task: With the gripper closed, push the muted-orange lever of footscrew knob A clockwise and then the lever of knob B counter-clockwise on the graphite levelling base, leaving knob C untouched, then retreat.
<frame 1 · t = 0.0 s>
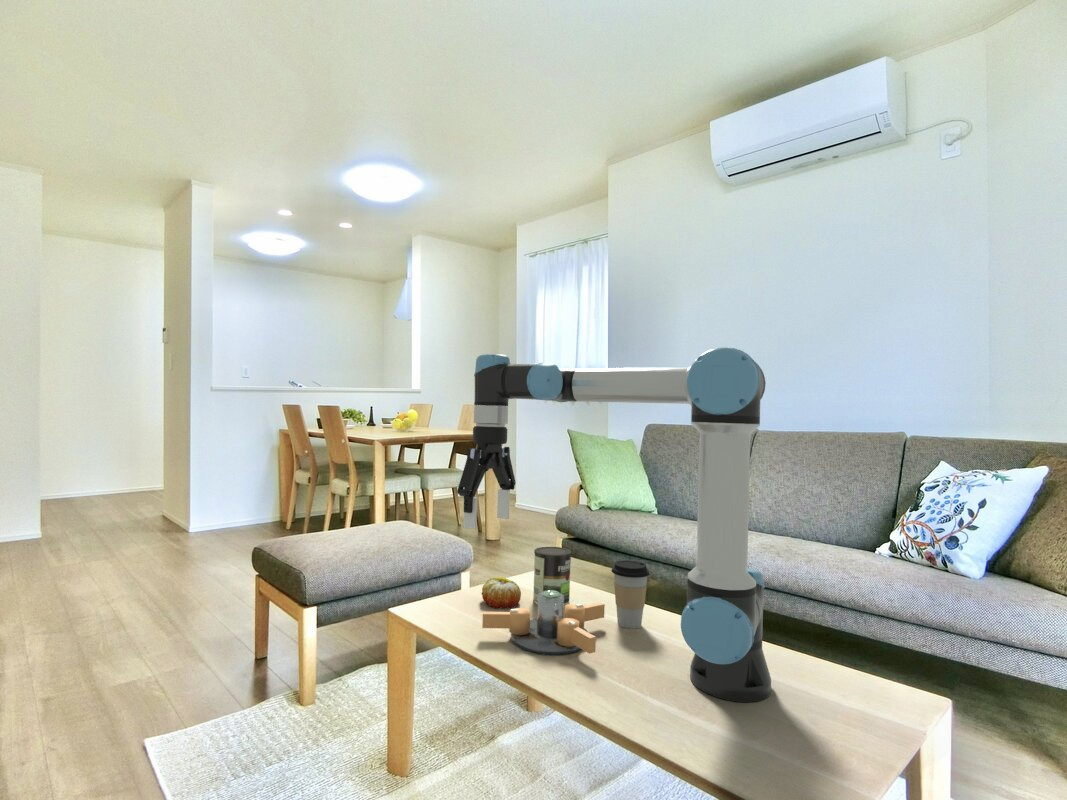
hand: (487, 523, 123), 28 cm above the table, fingers open, 13 cm apart
coffee cup: (628, 625, 142), on the table
fruit: (500, 604, 154), on the table
knob c: (584, 613, 136), point 4 cm above the table, hinge at 0.0°
coffee can: (551, 602, 157), on the table
levelling base: (549, 639, 131), on the table
knob a: (506, 620, 130), point 4 cm above the table, hinge at 0.0°
knob b: (576, 635, 122), point 4 cm above the table, hinge at 0.0°
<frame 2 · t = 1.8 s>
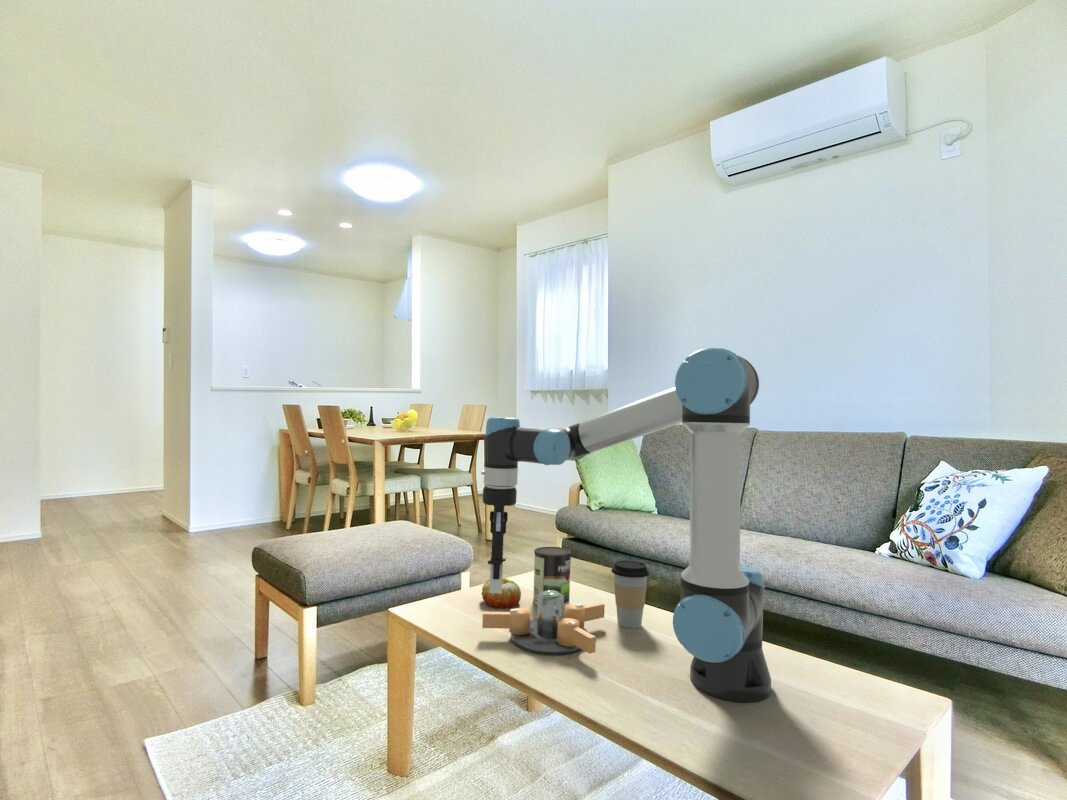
hand: (495, 592, 126), 12 cm above the table, fingers closed
nothing on the table moved.
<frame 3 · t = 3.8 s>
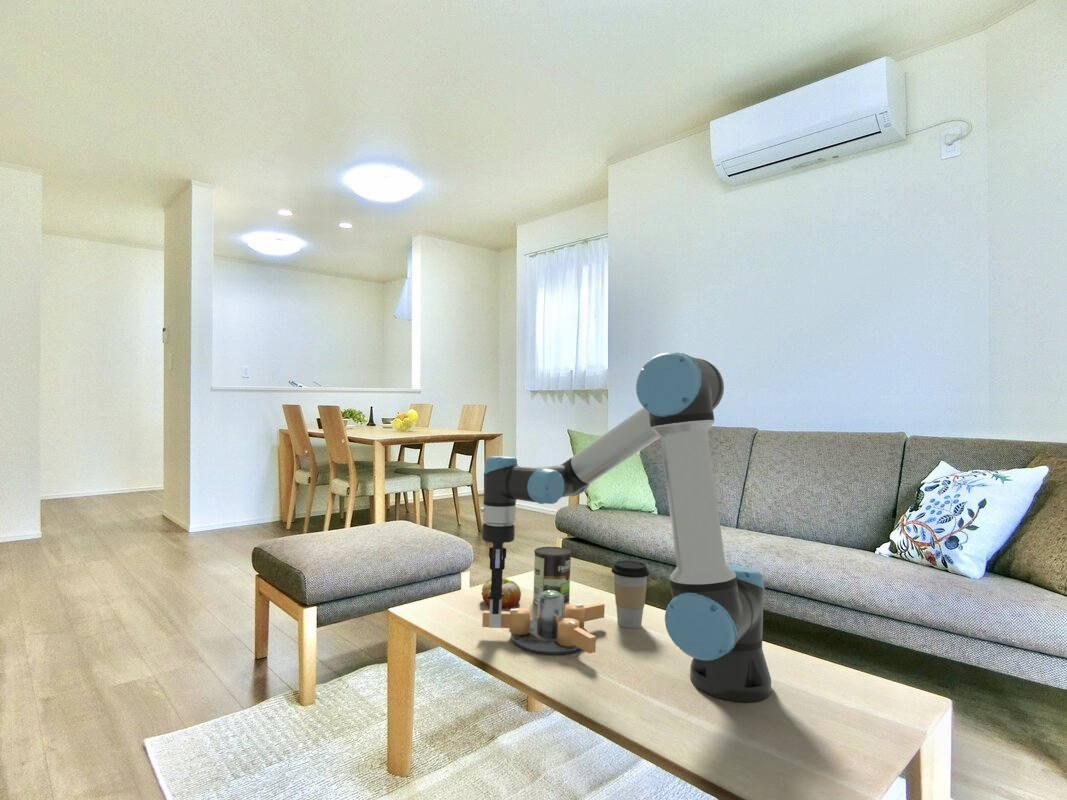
hand: (494, 626, 129), 3 cm above the table, fingers closed
knob a: (506, 619, 131), point 4 cm above the table, hinge at -5.1°, touching gripper
everything else where it was.
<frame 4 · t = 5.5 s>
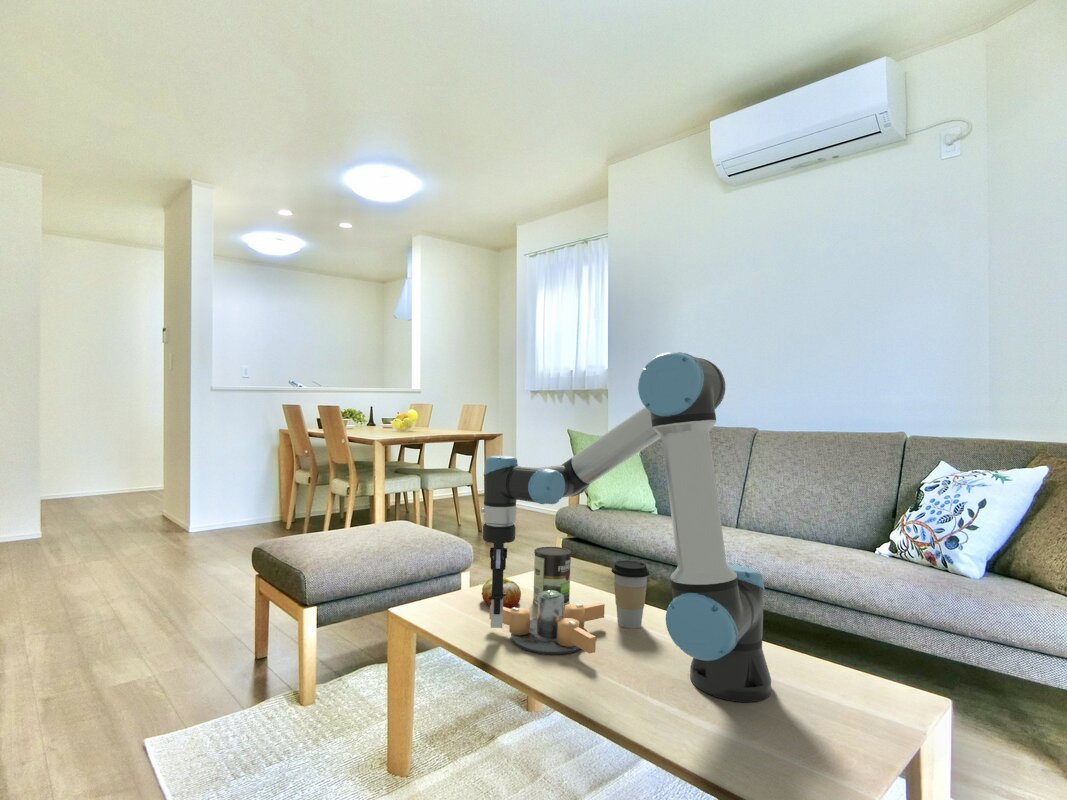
hand: (496, 626, 129), 3 cm above the table, fingers closed
knob a: (509, 617, 132), point 4 cm above the table, hinge at -40.0°
everything else where it was.
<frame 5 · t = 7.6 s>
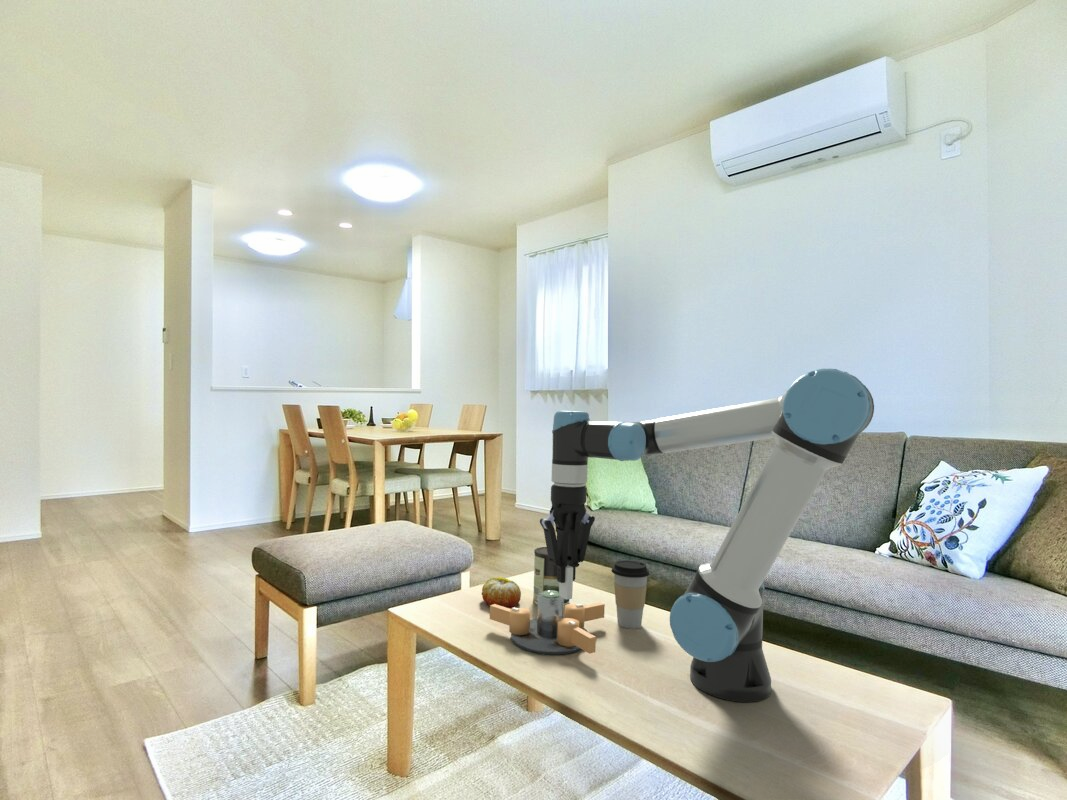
hand: (565, 597, 118), 14 cm above the table, fingers closed
nothing on the table moved.
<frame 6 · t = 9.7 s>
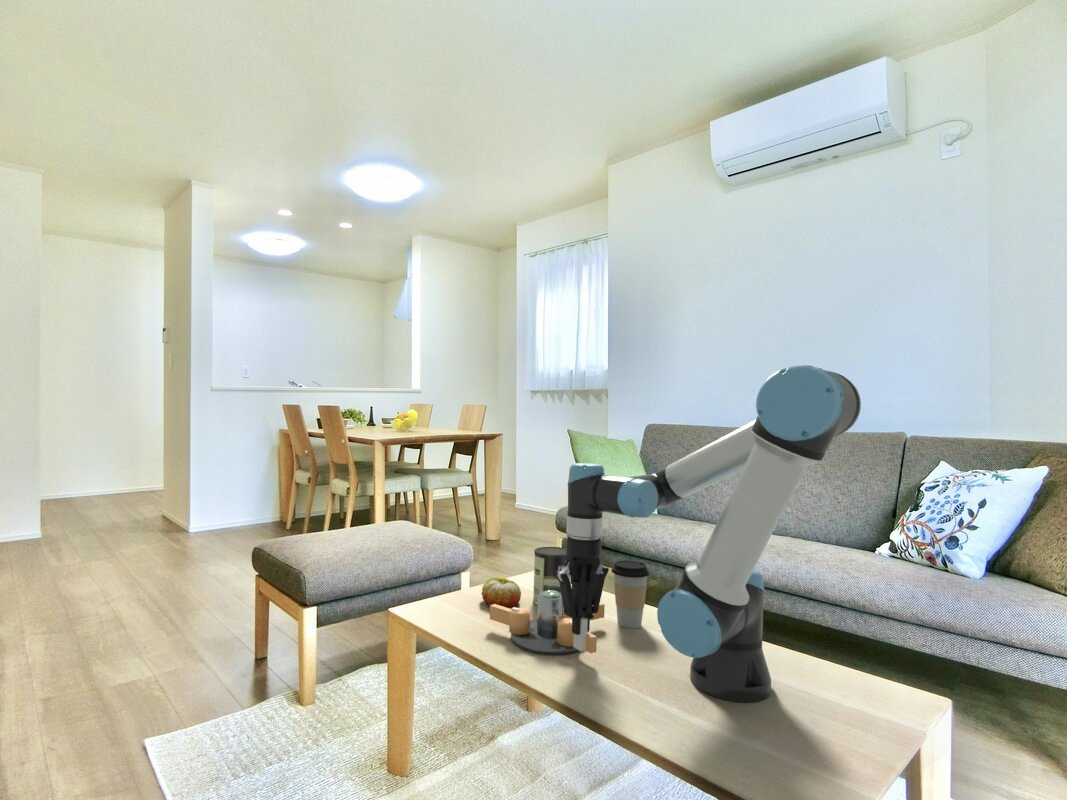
hand: (579, 648, 119), 3 cm above the table, fingers closed
knob b: (577, 635, 122), point 4 cm above the table, hinge at 1.8°, touching gripper
everything else where it was.
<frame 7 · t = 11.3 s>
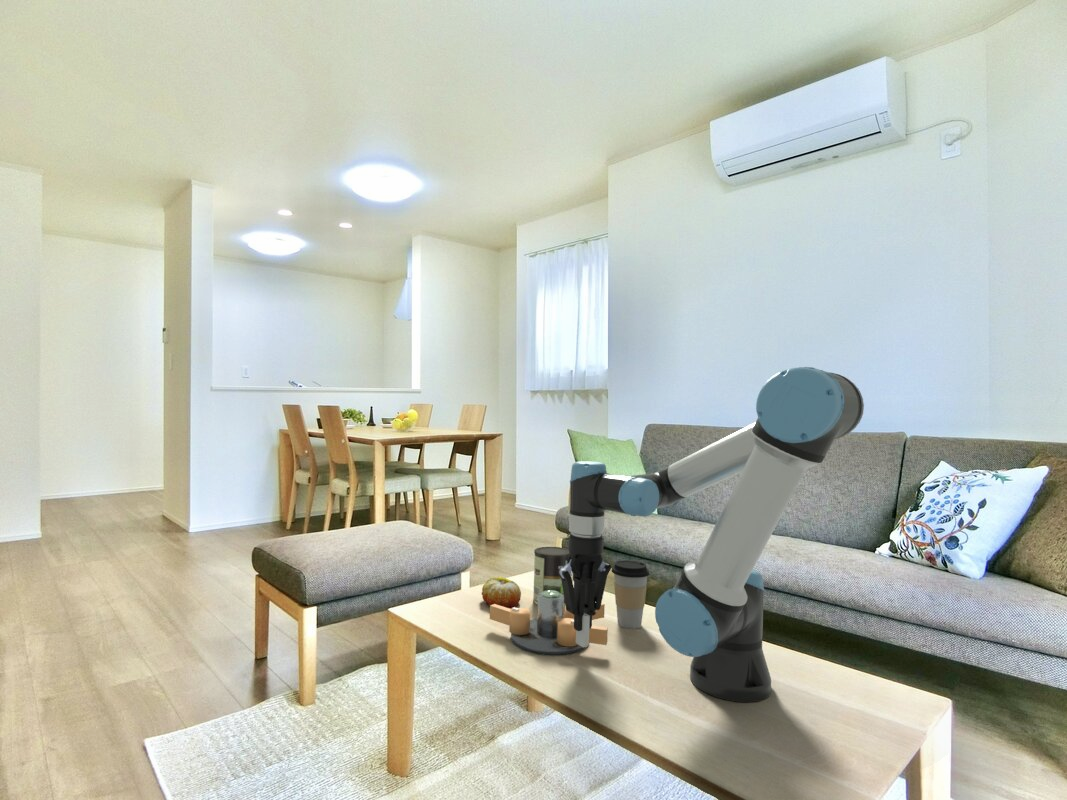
hand: (582, 644, 121), 3 cm above the table, fingers closed
knob b: (582, 632, 124), point 4 cm above the table, hinge at 41.7°
everything else where it was.
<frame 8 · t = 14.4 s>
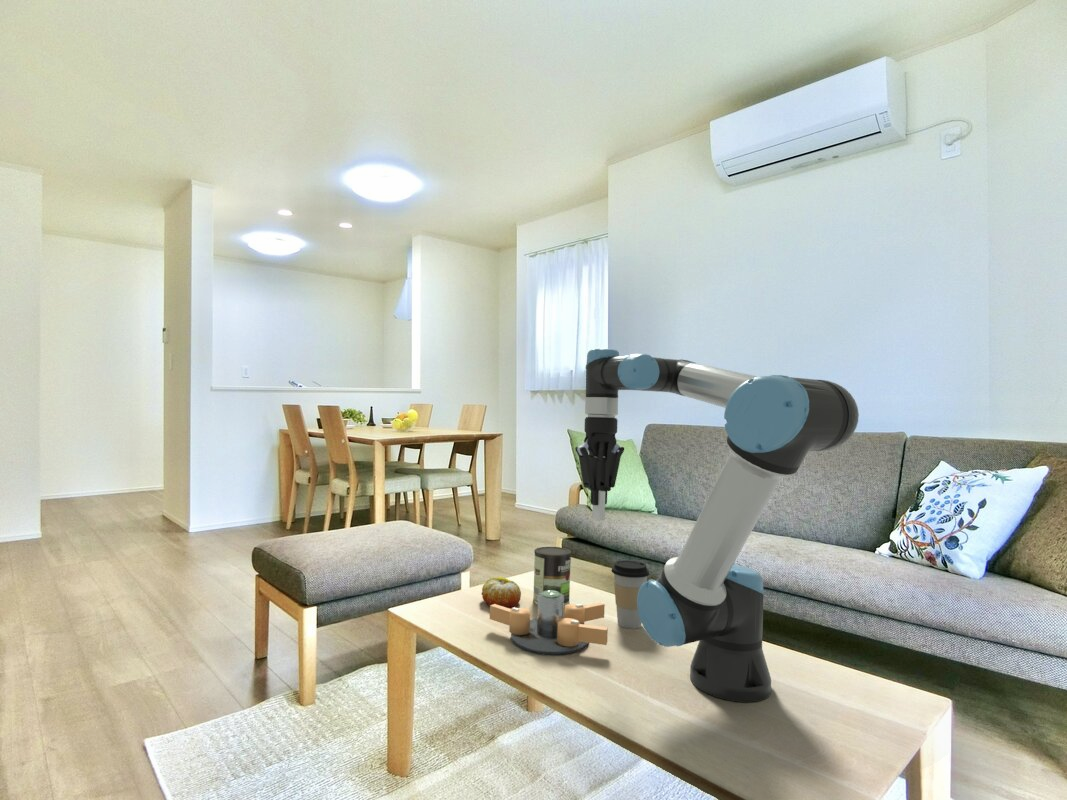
hand: (598, 519, 130), 28 cm above the table, fingers closed
knob b: (582, 632, 124), point 4 cm above the table, hinge at 42.0°
everything else where it was.
at the end: knob a at -40° (first picture: +0°); knob b at +42° (first picture: +0°); knob c at +0° (first picture: +0°) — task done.
